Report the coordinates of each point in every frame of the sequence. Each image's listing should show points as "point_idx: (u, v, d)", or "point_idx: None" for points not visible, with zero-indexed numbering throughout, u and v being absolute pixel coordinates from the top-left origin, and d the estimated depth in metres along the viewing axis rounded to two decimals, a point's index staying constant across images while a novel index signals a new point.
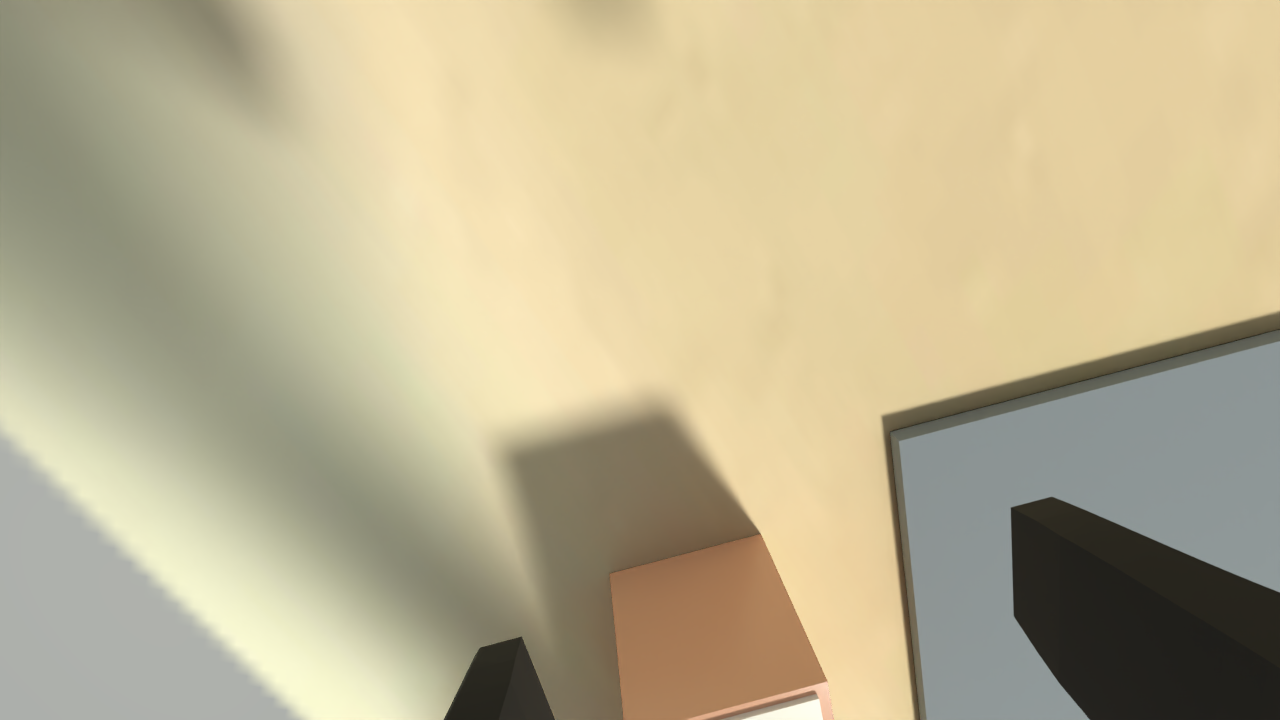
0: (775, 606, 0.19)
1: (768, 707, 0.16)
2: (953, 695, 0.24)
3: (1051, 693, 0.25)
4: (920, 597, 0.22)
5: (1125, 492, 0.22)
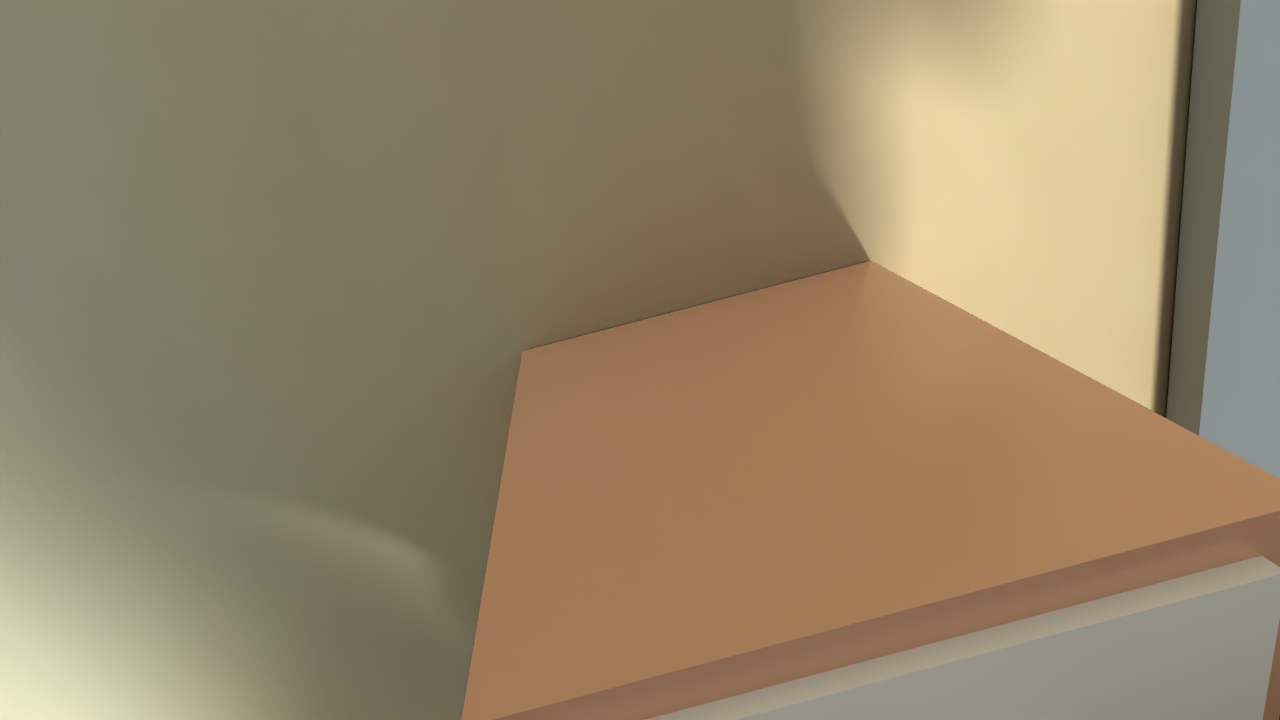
0: (970, 351, 0.06)
1: (1055, 611, 0.04)
2: None
3: None
4: (1213, 423, 0.10)
5: None
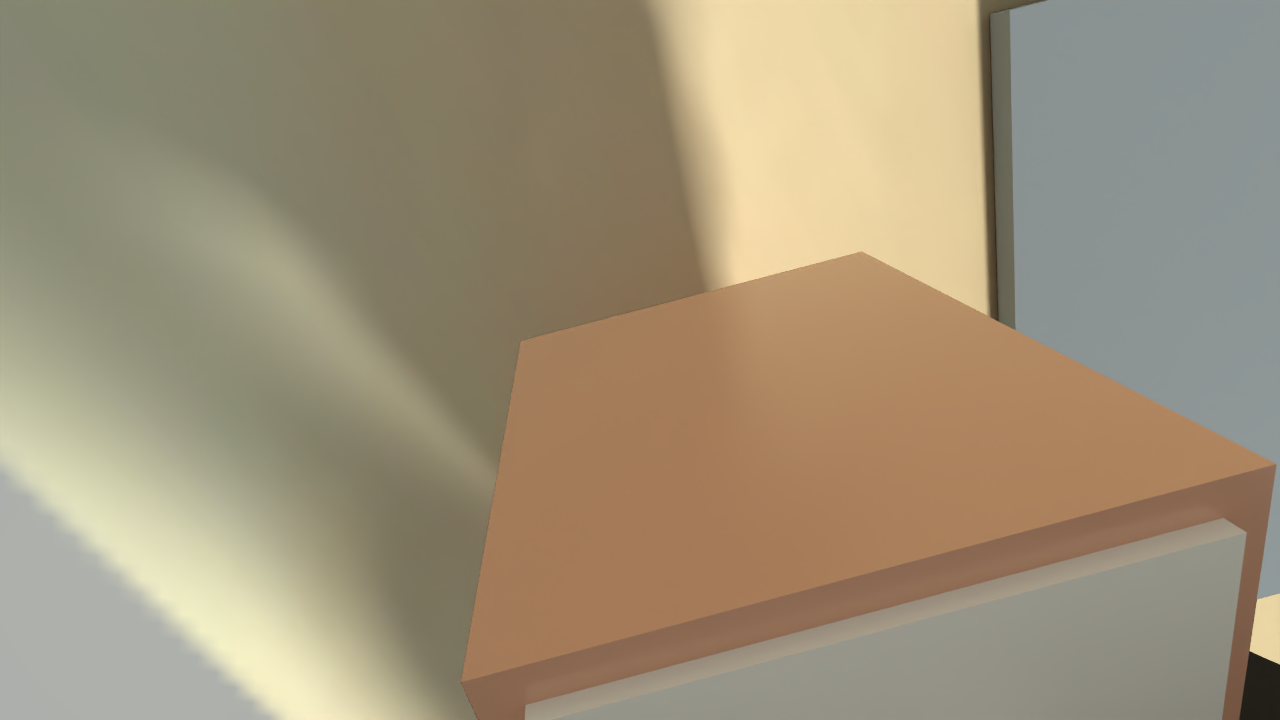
0: (955, 335, 0.07)
1: (1029, 573, 0.04)
2: None
3: None
4: (1025, 325, 0.14)
5: None
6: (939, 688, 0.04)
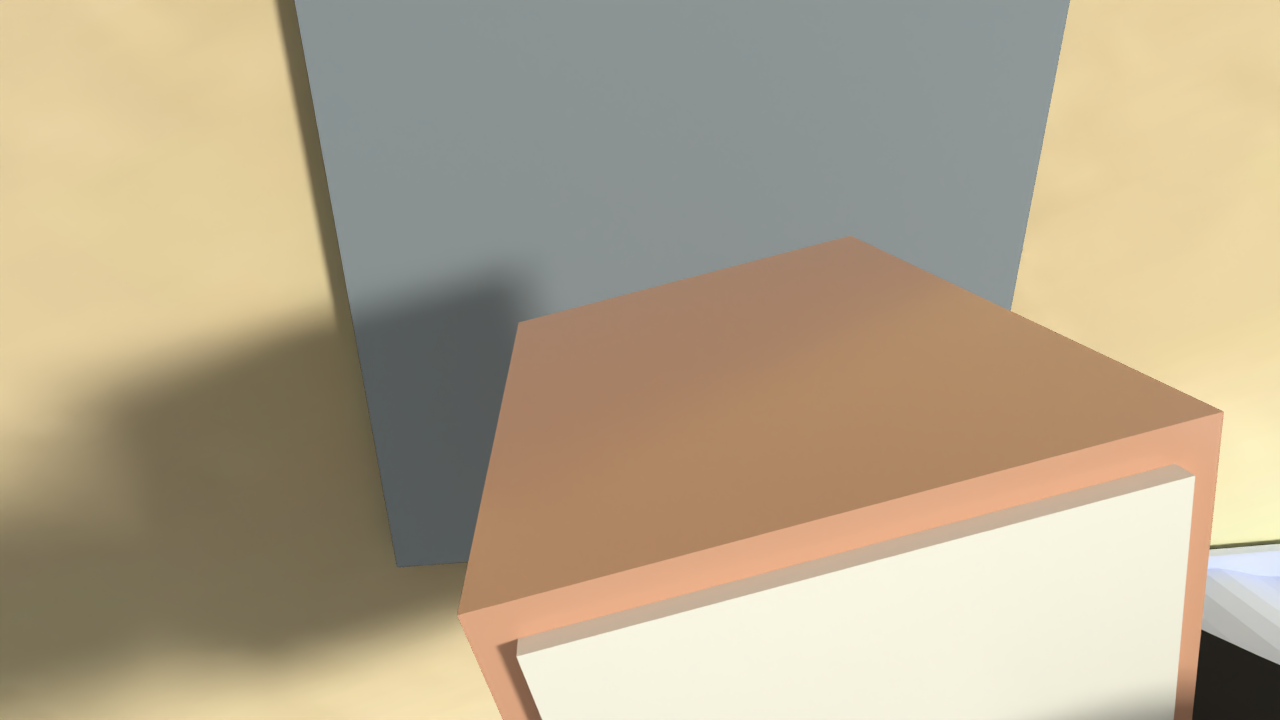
0: (935, 308, 0.07)
1: (991, 515, 0.04)
2: None
3: None
4: None
5: (532, 298, 0.16)
6: (908, 625, 0.04)
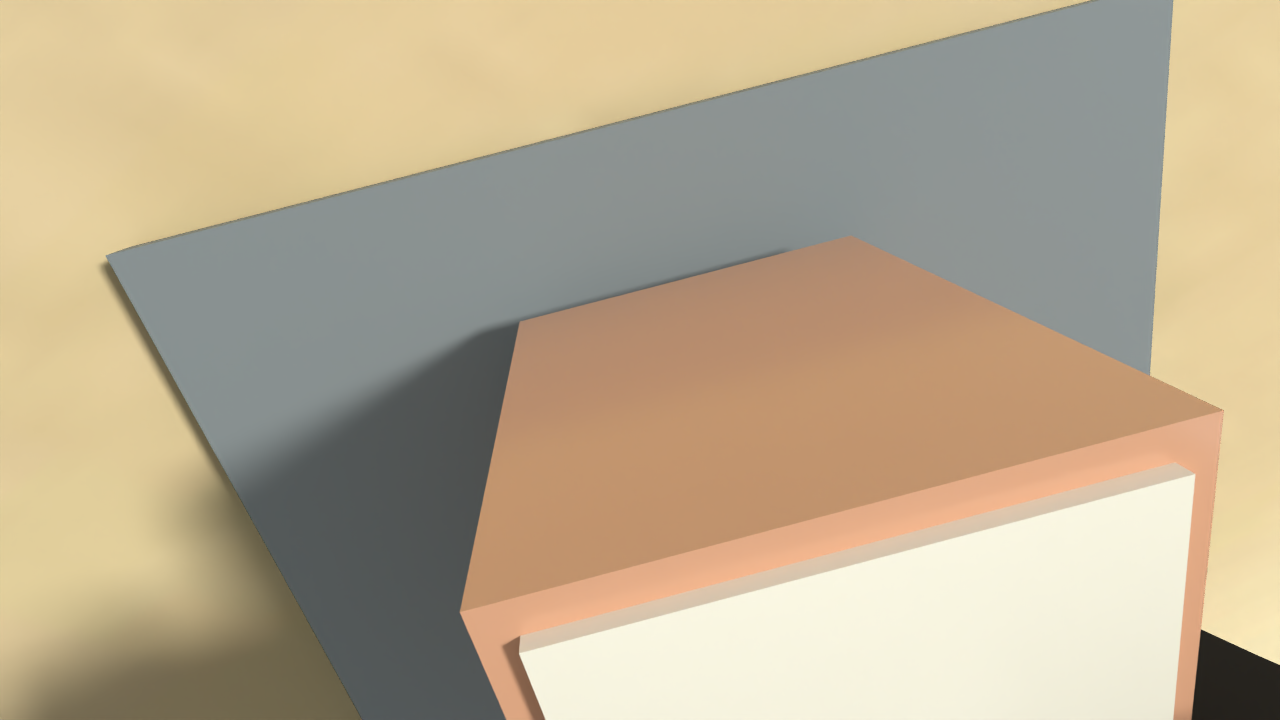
0: (936, 307, 0.07)
1: (993, 514, 0.04)
2: None
3: None
4: None
5: None
6: (909, 622, 0.04)
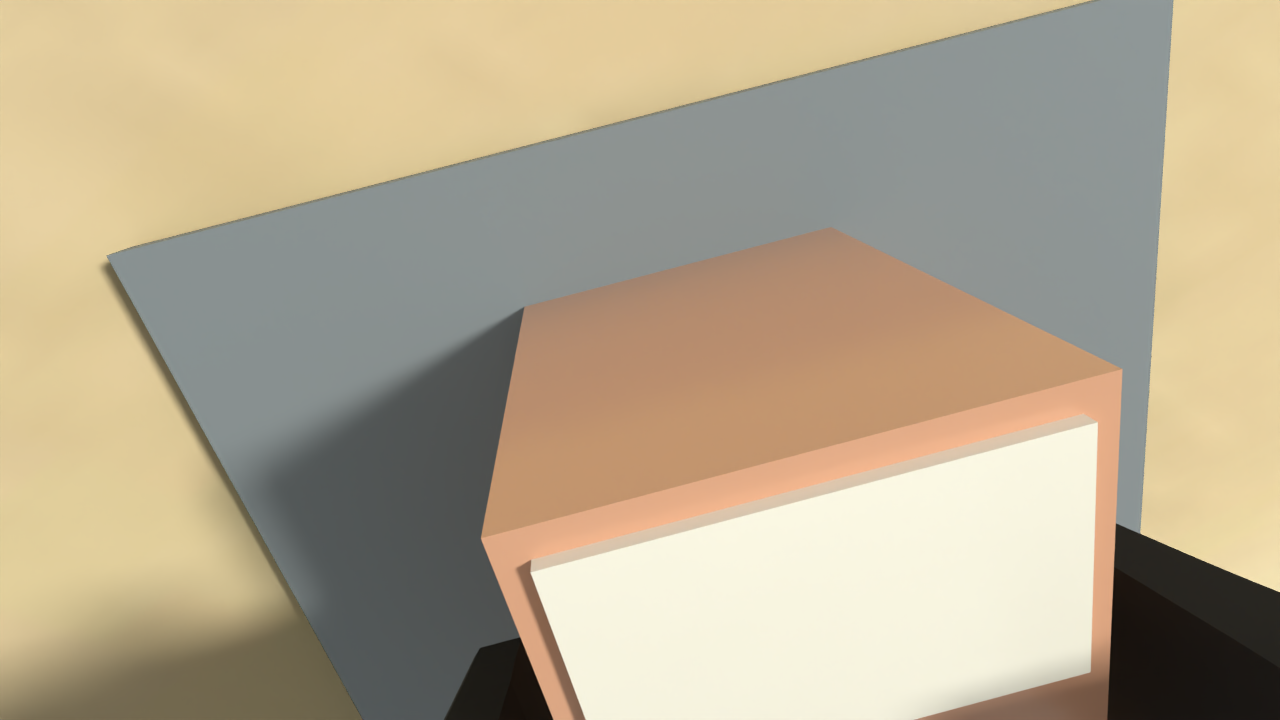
0: (898, 289, 0.08)
1: (929, 457, 0.05)
2: None
3: None
4: None
5: None
6: (859, 549, 0.05)
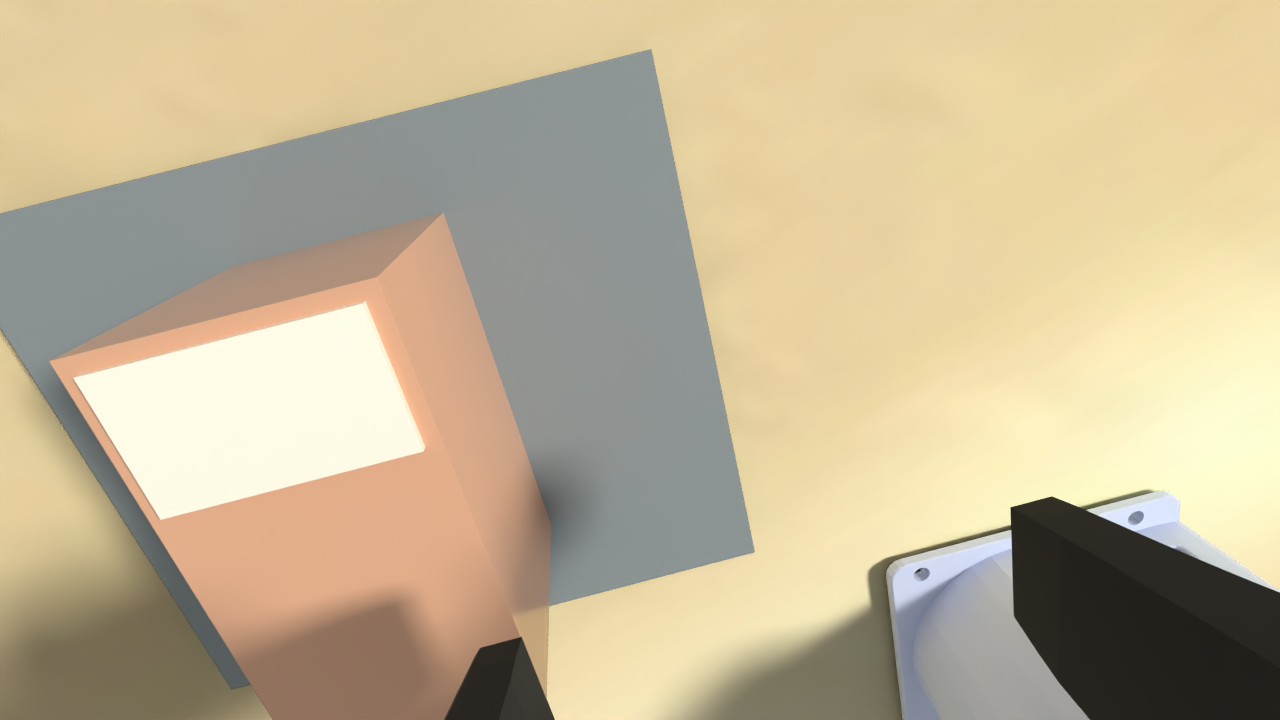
0: (390, 246, 0.13)
1: (289, 323, 0.10)
2: (585, 566, 0.20)
3: (593, 449, 0.18)
4: None
5: None
6: (253, 371, 0.10)
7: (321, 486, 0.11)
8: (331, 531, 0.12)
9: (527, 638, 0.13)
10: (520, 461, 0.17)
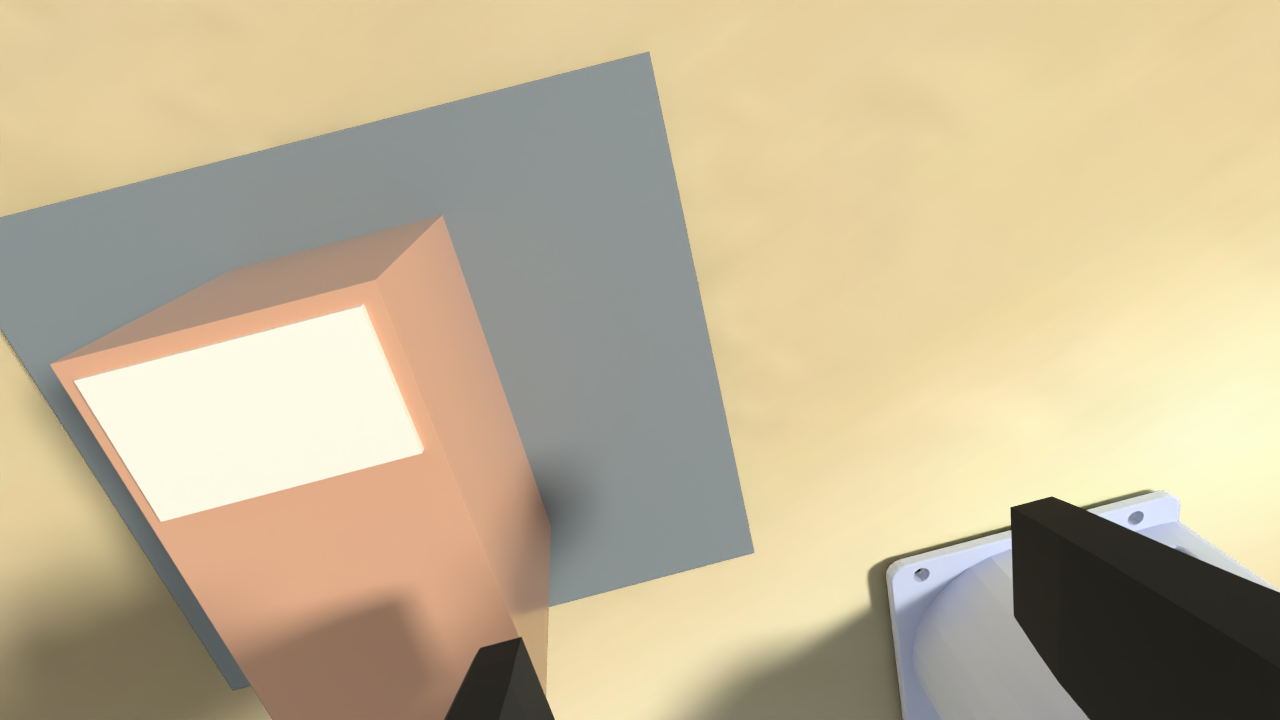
0: (389, 249, 0.13)
1: (289, 326, 0.10)
2: (584, 567, 0.20)
3: (593, 450, 0.18)
4: None
5: None
6: (252, 373, 0.10)
7: (320, 488, 0.11)
8: (331, 532, 0.12)
9: (526, 639, 0.13)
10: (519, 462, 0.17)
